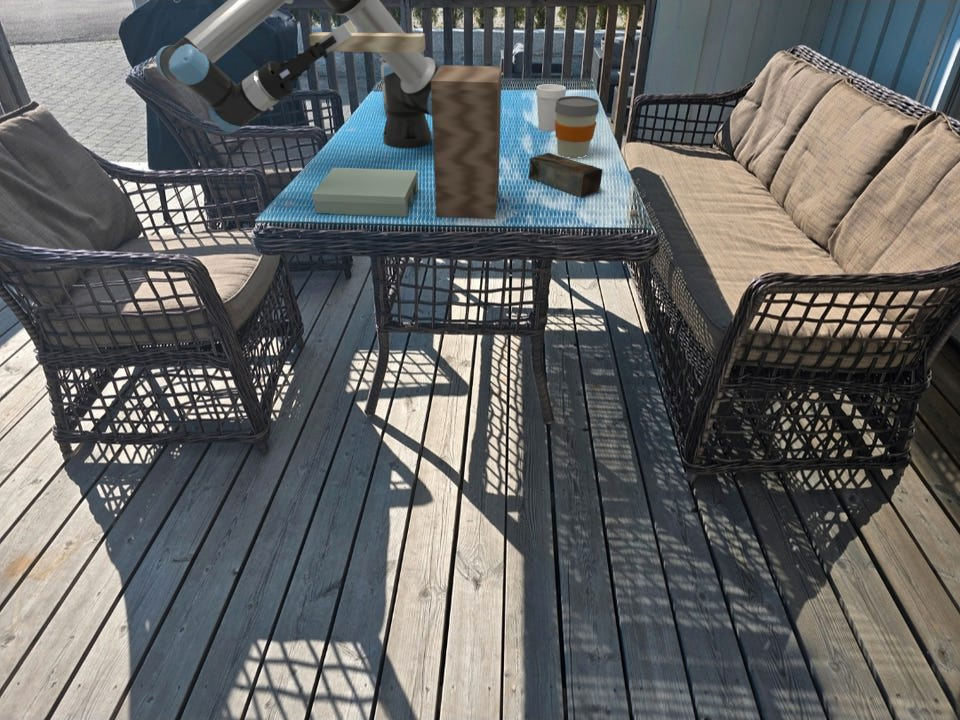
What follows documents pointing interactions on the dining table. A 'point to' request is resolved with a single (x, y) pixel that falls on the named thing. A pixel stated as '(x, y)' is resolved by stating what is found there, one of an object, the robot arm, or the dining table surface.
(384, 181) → the grey-green flat box
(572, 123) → the reusable coffee cup
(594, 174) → the beverage carton
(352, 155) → the dining table surface
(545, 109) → the foam cup
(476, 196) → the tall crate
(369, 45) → the pine slat
